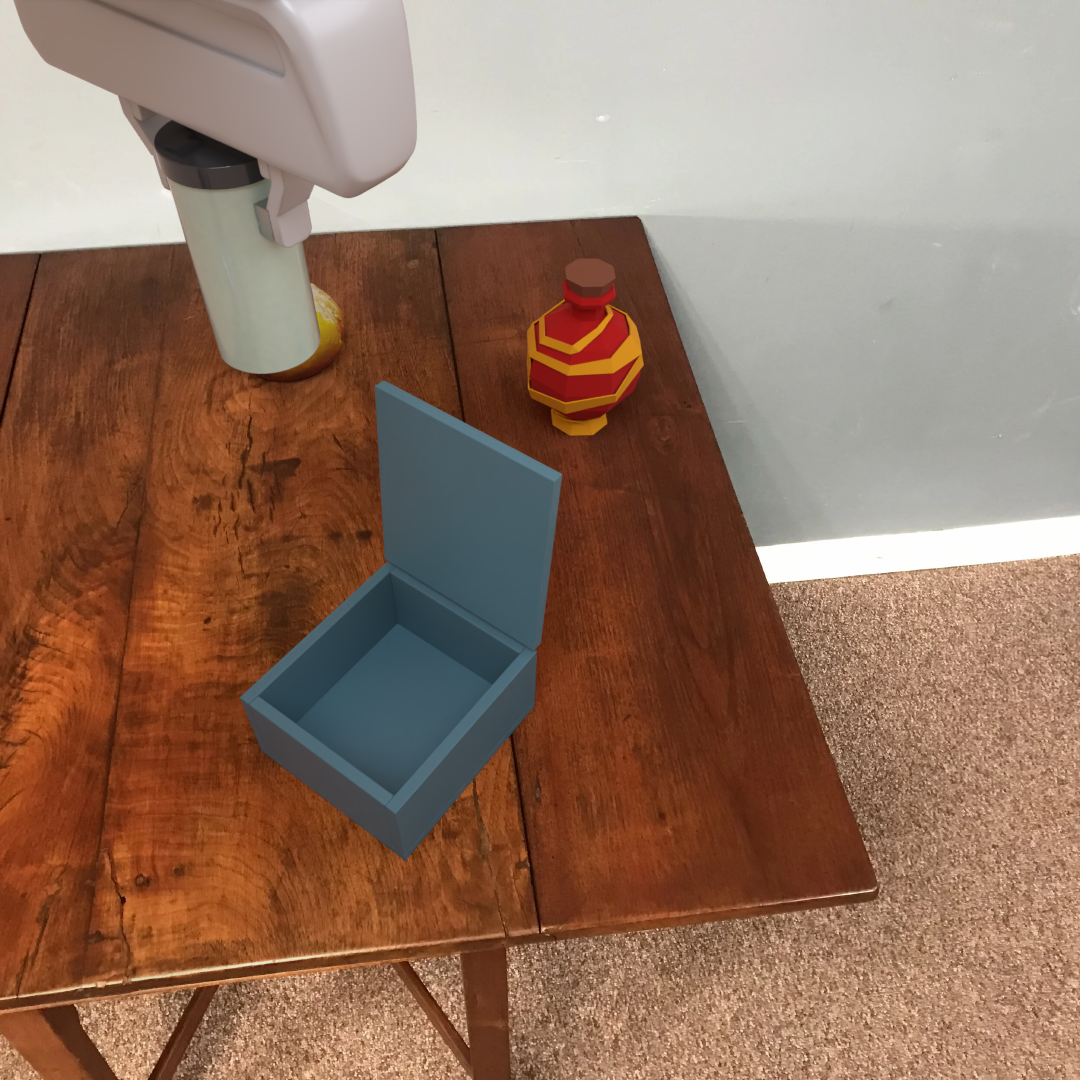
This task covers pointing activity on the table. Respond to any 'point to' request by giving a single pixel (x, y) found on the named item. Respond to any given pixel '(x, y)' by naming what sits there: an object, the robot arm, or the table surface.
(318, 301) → the fruit
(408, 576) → the chest
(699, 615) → the table surface
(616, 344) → the potion bottle
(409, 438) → the lid
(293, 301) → the jar
